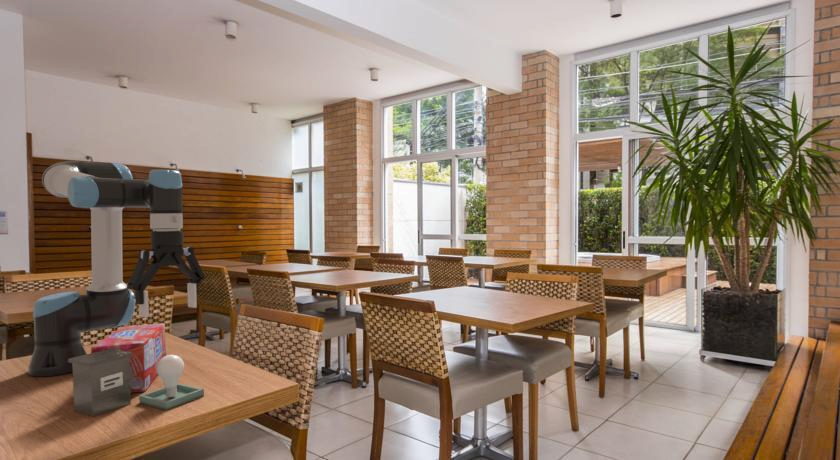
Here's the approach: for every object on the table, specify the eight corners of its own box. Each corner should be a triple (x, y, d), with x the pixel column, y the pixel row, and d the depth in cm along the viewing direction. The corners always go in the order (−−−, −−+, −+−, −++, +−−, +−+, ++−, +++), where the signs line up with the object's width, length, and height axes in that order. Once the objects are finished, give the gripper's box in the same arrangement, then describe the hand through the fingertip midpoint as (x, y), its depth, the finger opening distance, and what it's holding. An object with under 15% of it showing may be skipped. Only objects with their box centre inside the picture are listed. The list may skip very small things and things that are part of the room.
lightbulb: (173, 403, 123) (172, 359, 123) (151, 401, 125) (150, 358, 124) (190, 393, 130) (189, 352, 129) (169, 392, 131) (167, 351, 131)
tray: (139, 403, 125) (139, 395, 125) (177, 389, 135) (177, 383, 134) (166, 410, 120) (166, 402, 120) (204, 395, 129) (203, 389, 129)
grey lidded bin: (70, 411, 121) (68, 358, 120) (113, 397, 130) (111, 348, 129) (91, 418, 116) (89, 363, 116) (134, 403, 125) (132, 352, 125)
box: (122, 368, 155) (120, 325, 155) (168, 364, 159) (166, 321, 158) (90, 399, 129) (88, 347, 129) (145, 393, 133) (144, 342, 132)
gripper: (127, 232, 116) (130, 322, 117) (217, 228, 138) (219, 304, 139) (108, 231, 120) (111, 319, 120) (199, 228, 141) (201, 302, 142)
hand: (169, 311), depth 129 cm, fingers open, 13 cm apart
